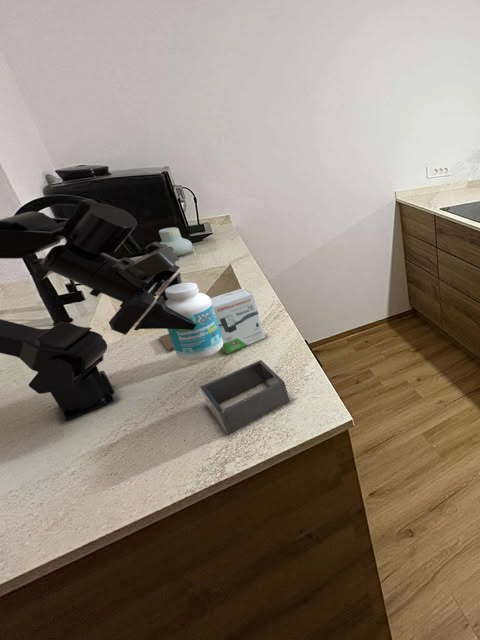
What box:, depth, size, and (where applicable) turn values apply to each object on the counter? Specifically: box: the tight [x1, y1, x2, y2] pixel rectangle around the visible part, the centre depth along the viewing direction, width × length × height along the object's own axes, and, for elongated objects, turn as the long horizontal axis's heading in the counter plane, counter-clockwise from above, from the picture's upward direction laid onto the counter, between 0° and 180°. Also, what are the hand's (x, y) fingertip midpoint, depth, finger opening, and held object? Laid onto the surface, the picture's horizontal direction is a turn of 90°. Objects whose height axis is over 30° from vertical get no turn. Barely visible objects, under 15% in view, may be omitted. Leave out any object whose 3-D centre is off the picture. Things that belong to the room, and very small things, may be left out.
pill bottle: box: [165, 282, 223, 362], centre depth 69 cm, size 8×7×14 cm
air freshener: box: [158, 227, 193, 257], centre depth 141 cm, size 11×8×10 cm
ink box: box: [210, 288, 266, 355], centre depth 84 cm, size 9×5×12 cm, turn 143°
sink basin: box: [199, 359, 290, 435], centre depth 67 cm, size 10×10×4 cm
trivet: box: [159, 333, 175, 352], centre depth 89 cm, size 8×8×1 cm
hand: (199, 317), depth 70 cm, fingers closed on pill bottle, 7 cm apart
